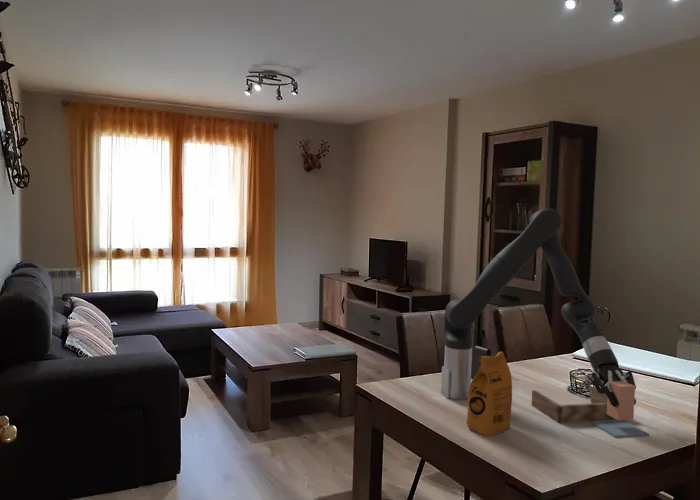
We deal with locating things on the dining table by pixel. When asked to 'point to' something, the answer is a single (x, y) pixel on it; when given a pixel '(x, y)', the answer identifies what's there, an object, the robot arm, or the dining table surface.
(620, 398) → the terracotta block
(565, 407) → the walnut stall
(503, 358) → the coffee package
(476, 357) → the door stopper
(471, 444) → the dining table surface
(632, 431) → the slate mat
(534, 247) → the robot arm
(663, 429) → the dining table surface
